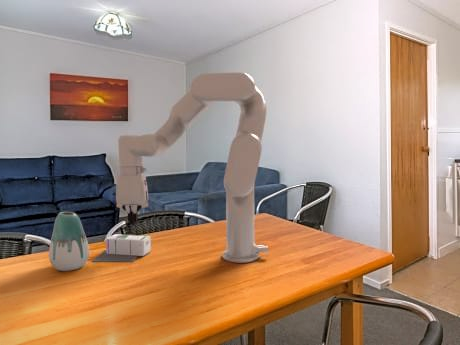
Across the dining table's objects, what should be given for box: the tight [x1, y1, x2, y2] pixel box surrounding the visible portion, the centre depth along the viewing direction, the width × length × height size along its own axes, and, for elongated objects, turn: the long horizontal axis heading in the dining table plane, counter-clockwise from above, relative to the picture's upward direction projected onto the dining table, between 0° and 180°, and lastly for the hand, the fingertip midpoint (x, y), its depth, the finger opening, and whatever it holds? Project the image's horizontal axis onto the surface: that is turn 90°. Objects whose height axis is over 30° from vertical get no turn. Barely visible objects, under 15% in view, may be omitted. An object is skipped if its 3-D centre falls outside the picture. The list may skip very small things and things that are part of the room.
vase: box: [48, 211, 90, 272], centre depth 107 cm, size 12×12×18 cm
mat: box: [91, 249, 139, 263], centre depth 118 cm, size 14×11×1 cm
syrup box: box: [105, 233, 152, 257], centre depth 120 cm, size 6×6×14 cm
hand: (133, 223), depth 117 cm, fingers closed
